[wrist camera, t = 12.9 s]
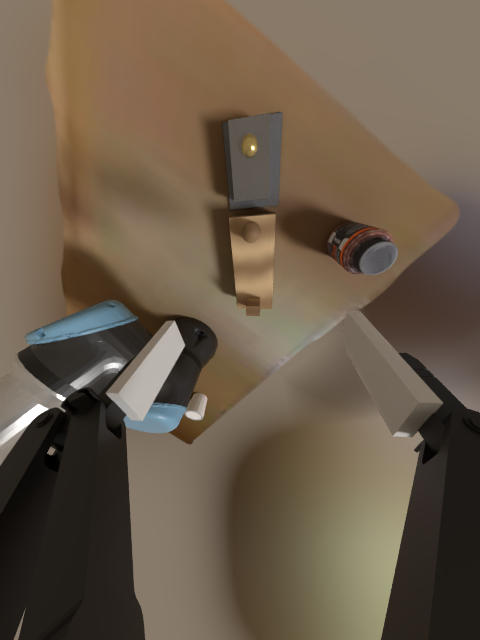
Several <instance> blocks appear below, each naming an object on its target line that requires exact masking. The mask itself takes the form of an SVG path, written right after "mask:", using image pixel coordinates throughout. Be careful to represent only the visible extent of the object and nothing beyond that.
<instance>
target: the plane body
mask: <svg viewBox="0 0 480 640" xmlns="http://www.w3.org/2000/svg"><path fill="white" fill-rule="evenodd" d="M275 216H276V214H275V213H266V214H254V215H241V216H233V217H230V218H229V225H230V235H231V246H232V256H233V267H234V277H235V288H236V298H237V308H246V316H260V309H272V295H273V268H274V242H275Z"/></svg>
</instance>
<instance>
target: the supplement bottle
mask: <svg viewBox="0 0 480 640" xmlns="http://www.w3.org/2000/svg"><path fill="white" fill-rule="evenodd" d="M327 251H328V253H329V255H330V256H331V257H332V258H333V259H334V260H335V261H337V262H338V263H339V264H340V265H341V266H342V267H343V268H344V269H346V270H347V271H348V272H350V273H352V274H356V275H364V274H367V275H377V274H380V273H382V272H384V271H386V270H387V269H389V268H390V267H391V266H392V265H393V263H394V262H395V260H396V259H397V256H398V249H397V247H396V245H395V244H394V240H393V237H392V236H391V234H390V233H388V232H387V231H385V230H383V229H379V228H376V227H372V226H368V225H364V224H360V223H356V222H347V223H344V224H342V225H340V226H338V227H337V228H336V229H334V230H333V232H332V233H331V234H330V236H329V238H328V241H327Z"/></svg>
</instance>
